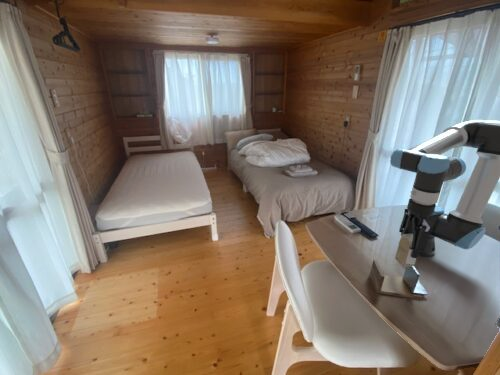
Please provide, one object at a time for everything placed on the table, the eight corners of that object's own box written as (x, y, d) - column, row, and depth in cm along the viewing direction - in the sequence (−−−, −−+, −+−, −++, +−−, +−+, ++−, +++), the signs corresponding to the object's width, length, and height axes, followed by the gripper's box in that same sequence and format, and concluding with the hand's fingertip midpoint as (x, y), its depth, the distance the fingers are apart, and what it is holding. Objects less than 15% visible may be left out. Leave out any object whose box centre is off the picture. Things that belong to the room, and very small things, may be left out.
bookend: (417, 280, 99) (423, 262, 96) (427, 295, 92) (434, 276, 89) (402, 278, 100) (408, 260, 97) (411, 292, 93) (417, 274, 90)
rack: (409, 280, 101) (415, 264, 98) (421, 299, 92) (427, 282, 89) (369, 275, 103) (373, 259, 100) (376, 292, 94) (381, 276, 91)
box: (394, 258, 92) (401, 233, 88) (404, 257, 92) (411, 232, 89) (404, 267, 87) (411, 241, 83) (415, 266, 87) (422, 240, 84)
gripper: (398, 189, 90) (385, 242, 98) (425, 212, 72) (406, 274, 81) (420, 191, 89) (404, 243, 97) (453, 214, 71) (430, 276, 80)
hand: (405, 257), depth 89 cm, fingers closed on box, 6 cm apart
